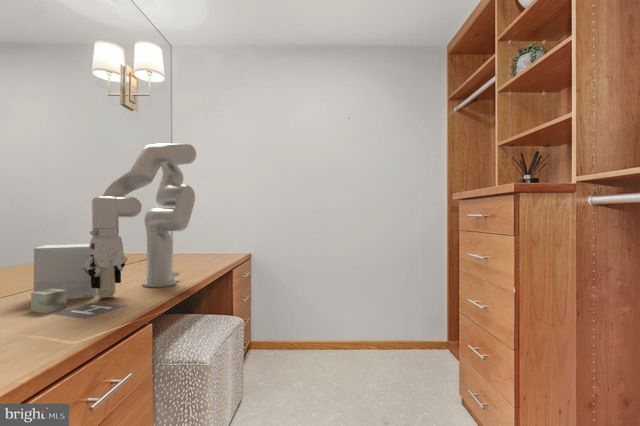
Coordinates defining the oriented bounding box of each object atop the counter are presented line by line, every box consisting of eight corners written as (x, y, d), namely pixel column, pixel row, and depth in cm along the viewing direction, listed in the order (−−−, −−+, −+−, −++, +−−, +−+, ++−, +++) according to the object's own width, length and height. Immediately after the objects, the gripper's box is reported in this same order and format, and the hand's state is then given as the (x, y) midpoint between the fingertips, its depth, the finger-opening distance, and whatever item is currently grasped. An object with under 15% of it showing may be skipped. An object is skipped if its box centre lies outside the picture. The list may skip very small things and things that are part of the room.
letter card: (96, 303, 111) (96, 302, 111) (128, 307, 107) (128, 305, 107) (51, 315, 98) (51, 313, 98) (85, 320, 94) (85, 318, 94)
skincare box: (112, 296, 115) (112, 260, 114) (97, 298, 113) (96, 261, 112) (115, 292, 120) (115, 257, 120) (100, 293, 119) (100, 258, 118)
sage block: (52, 307, 106) (52, 288, 106) (66, 309, 105) (66, 290, 105) (30, 313, 101) (31, 292, 101) (45, 315, 99) (45, 294, 99)
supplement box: (101, 290, 130) (102, 243, 130) (95, 298, 118) (95, 246, 118) (44, 294, 123) (45, 244, 123) (32, 303, 111) (32, 247, 111)
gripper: (89, 235, 107) (90, 292, 107) (135, 231, 123) (136, 280, 124) (72, 235, 109) (73, 290, 109) (119, 231, 125) (119, 279, 126)
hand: (106, 284), depth 116 cm, fingers closed on skincare box, 7 cm apart
